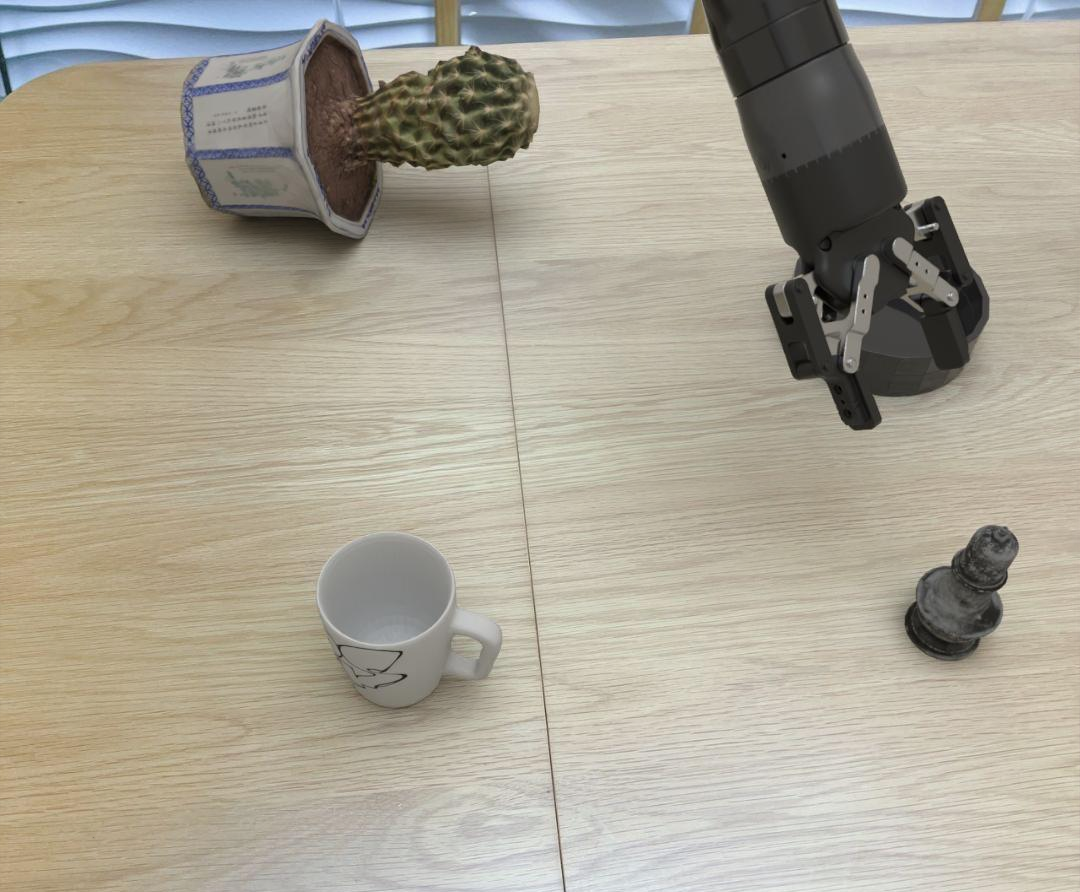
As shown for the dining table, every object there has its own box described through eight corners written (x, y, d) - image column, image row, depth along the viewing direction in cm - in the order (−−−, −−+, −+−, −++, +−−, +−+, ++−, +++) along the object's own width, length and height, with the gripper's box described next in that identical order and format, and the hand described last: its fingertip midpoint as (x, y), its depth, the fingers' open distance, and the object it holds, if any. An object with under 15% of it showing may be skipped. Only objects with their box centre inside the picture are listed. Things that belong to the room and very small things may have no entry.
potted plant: (130, 112, 86) (499, 57, 79) (200, 5, 97) (528, -51, 90) (224, 291, 99) (547, 258, 92) (276, 179, 110) (567, 141, 103)
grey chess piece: (896, 589, 79) (952, 485, 69) (978, 597, 79) (1045, 494, 69) (904, 660, 76) (965, 561, 66) (990, 668, 75) (1063, 570, 66)
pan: (865, 243, 102) (879, 203, 98) (1008, 340, 95) (1029, 301, 91) (744, 316, 96) (754, 276, 92) (888, 426, 88) (904, 387, 85)
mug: (516, 638, 76) (518, 555, 68) (485, 747, 71) (483, 672, 63) (358, 604, 77) (342, 518, 69) (316, 708, 72) (294, 630, 64)
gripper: (778, 175, 58) (883, 447, 62) (946, 85, 63) (1032, 340, 68) (693, 208, 65) (794, 451, 69) (853, 123, 70) (936, 354, 74)
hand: (912, 396), depth 68 cm, fingers open, 8 cm apart
